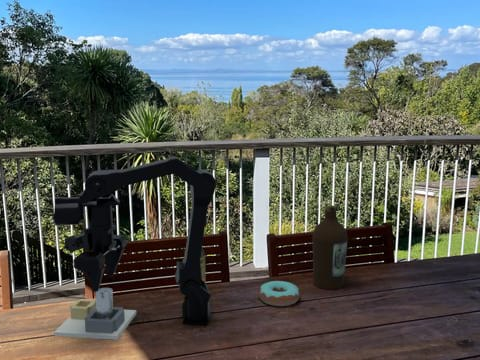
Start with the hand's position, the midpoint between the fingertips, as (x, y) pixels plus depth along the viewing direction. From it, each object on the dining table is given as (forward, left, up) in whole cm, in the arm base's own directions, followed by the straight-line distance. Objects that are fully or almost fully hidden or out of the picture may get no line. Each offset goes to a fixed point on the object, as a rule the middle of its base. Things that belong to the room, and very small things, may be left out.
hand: (103, 283), depth 117 cm
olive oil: (-58, -36, -12) cm, 69 cm away
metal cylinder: (0, 0, -11) cm, 11 cm away
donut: (-43, -23, -12) cm, 50 cm away
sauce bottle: (-18, -24, -12) cm, 32 cm away
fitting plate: (+3, -2, -12) cm, 12 cm away
